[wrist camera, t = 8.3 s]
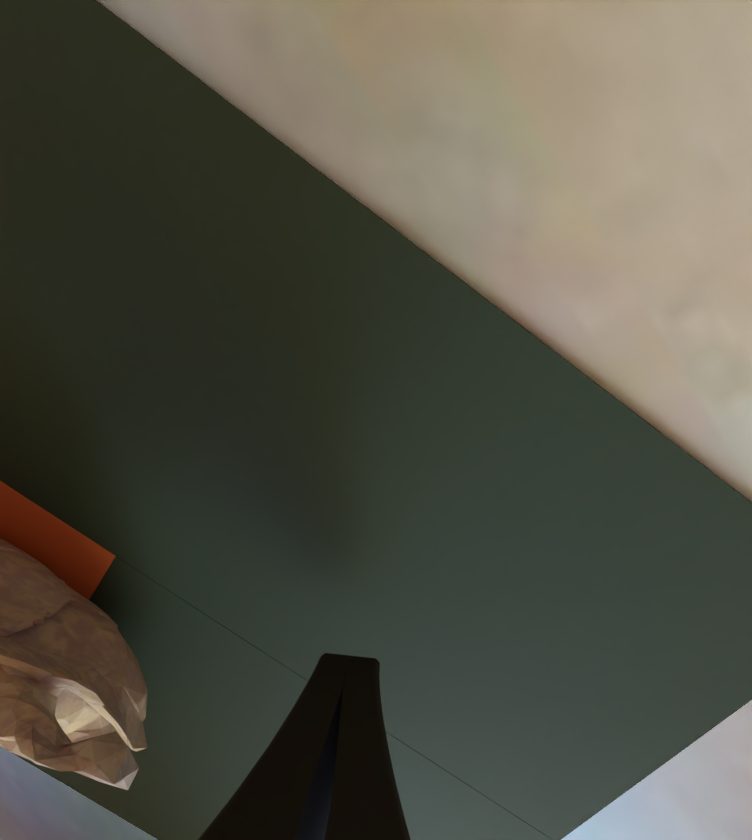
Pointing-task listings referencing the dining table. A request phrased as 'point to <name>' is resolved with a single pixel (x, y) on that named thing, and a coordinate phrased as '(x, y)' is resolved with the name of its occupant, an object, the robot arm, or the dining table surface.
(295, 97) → the dining table surface
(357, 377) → the play mat
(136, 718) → the beige animal figurine
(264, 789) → the robot arm
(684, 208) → the dining table surface
